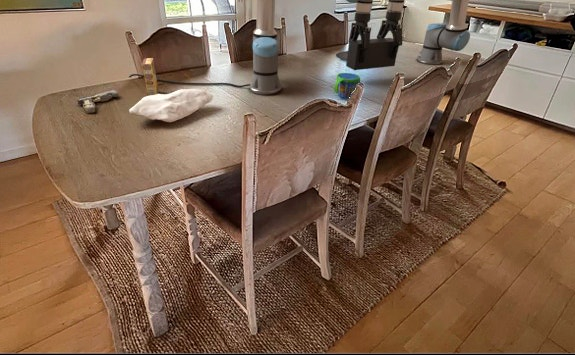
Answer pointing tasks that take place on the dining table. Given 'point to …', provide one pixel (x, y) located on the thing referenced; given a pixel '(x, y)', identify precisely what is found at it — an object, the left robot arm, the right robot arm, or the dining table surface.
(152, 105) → the crumpled cloth
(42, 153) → the dining table surface
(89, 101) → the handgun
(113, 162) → the dining table surface
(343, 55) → the grey disc with mount
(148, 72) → the candy box
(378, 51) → the box
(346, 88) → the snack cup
